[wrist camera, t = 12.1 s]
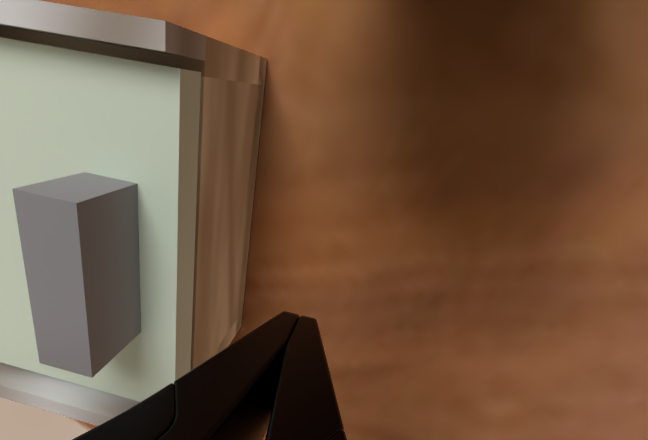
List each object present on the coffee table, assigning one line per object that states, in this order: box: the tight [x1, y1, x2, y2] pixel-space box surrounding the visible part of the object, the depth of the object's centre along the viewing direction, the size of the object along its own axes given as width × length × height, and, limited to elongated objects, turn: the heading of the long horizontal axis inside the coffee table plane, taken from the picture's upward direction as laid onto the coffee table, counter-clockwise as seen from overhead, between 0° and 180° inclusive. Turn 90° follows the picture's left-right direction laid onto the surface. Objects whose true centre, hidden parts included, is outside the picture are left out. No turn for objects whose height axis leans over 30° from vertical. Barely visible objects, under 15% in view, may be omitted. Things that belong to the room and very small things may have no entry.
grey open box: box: [0, 0, 267, 426], centre depth 13 cm, size 14×13×7 cm
